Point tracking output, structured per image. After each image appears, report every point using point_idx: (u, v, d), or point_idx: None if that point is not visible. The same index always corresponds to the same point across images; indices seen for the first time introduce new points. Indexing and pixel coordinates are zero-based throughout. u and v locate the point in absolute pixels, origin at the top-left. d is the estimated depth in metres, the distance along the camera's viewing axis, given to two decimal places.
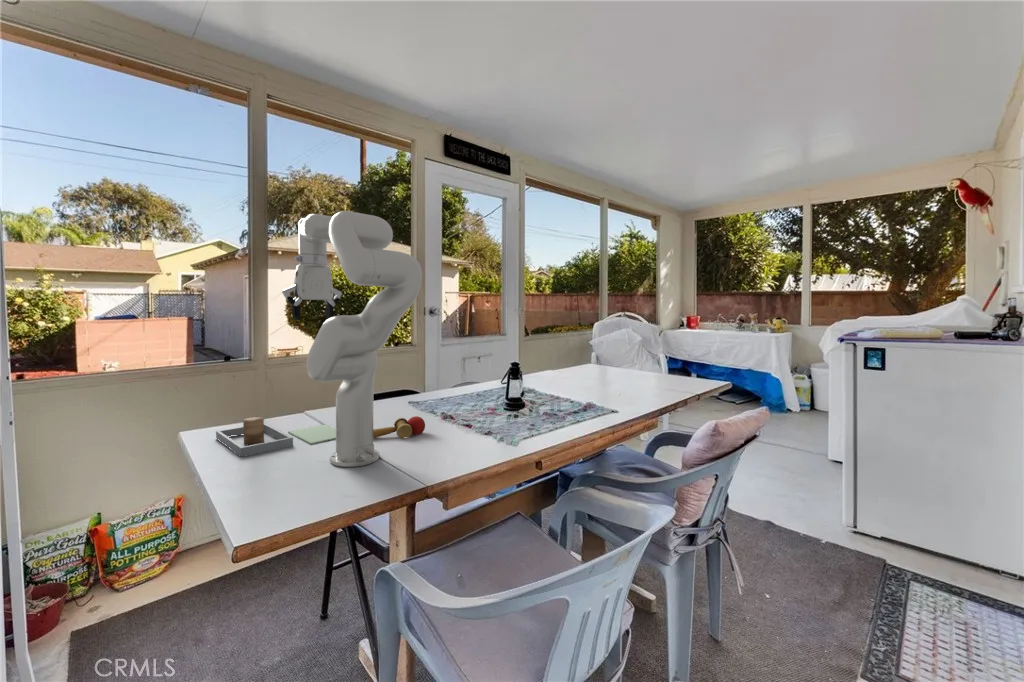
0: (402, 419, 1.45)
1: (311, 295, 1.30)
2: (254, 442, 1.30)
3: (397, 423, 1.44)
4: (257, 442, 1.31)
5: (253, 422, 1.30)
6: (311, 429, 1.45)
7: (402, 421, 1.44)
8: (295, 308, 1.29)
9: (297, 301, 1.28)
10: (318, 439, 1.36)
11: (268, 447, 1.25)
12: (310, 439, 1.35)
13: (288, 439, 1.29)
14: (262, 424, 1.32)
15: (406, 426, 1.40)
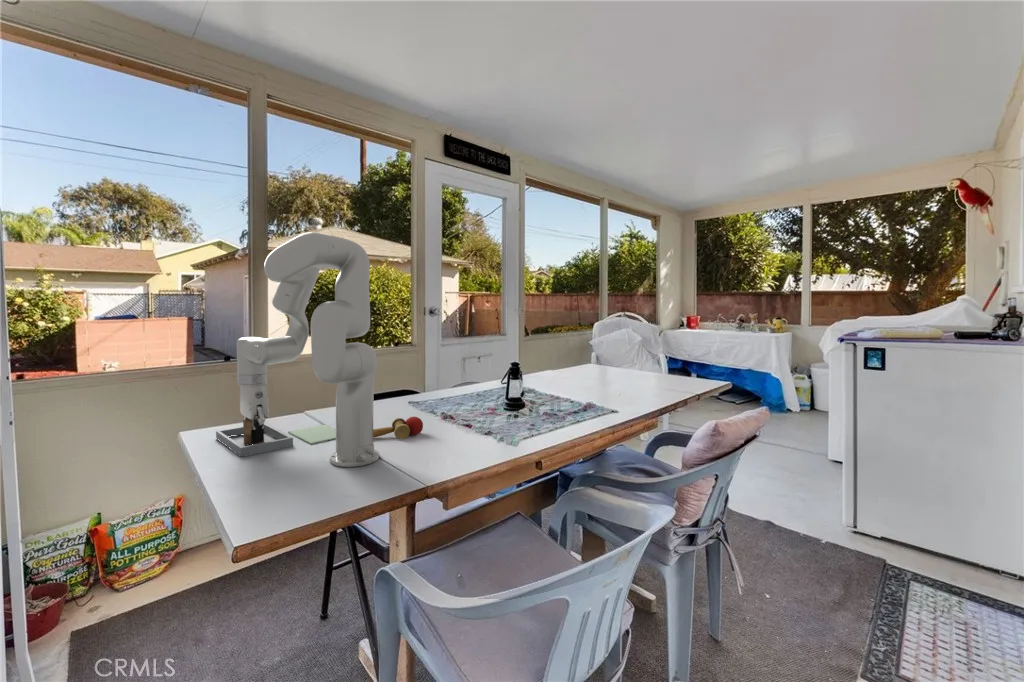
0: (400, 419, 1.44)
1: None
2: None
3: (395, 423, 1.44)
4: None
5: None
6: (311, 429, 1.45)
7: (400, 421, 1.44)
8: None
9: None
10: (318, 439, 1.36)
11: (268, 447, 1.25)
12: (310, 439, 1.35)
13: (288, 439, 1.29)
14: None
15: (404, 426, 1.40)
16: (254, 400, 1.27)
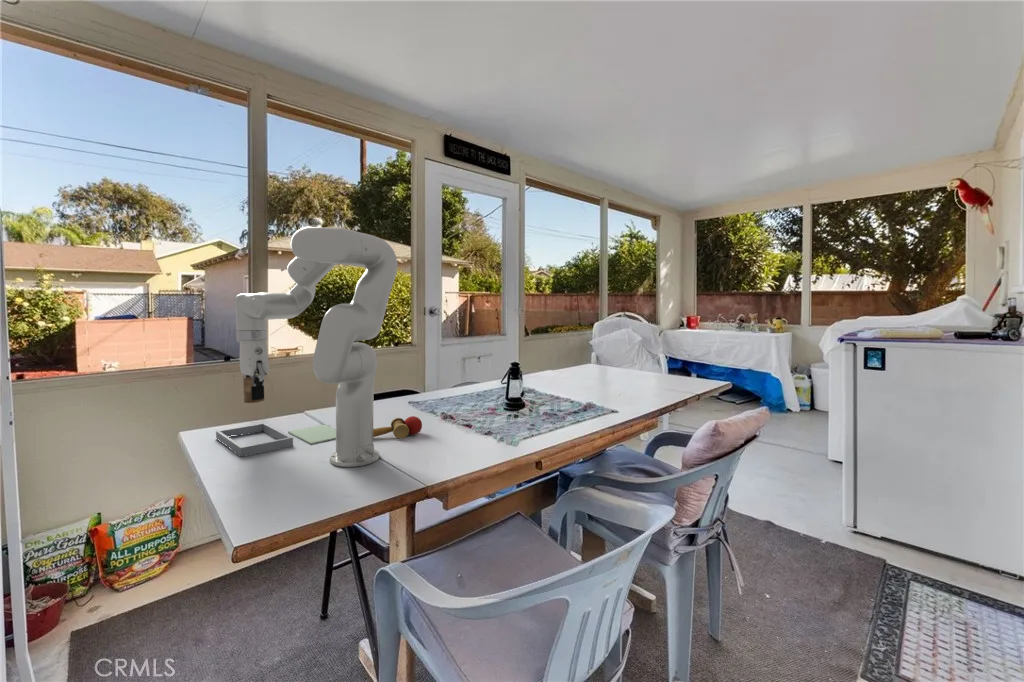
0: (399, 419, 1.44)
1: None
2: None
3: (394, 423, 1.43)
4: (257, 400, 1.29)
5: None
6: (311, 429, 1.45)
7: (399, 421, 1.44)
8: None
9: None
10: (318, 439, 1.36)
11: (268, 447, 1.25)
12: (310, 439, 1.35)
13: (288, 439, 1.29)
14: None
15: (403, 426, 1.40)
16: (254, 356, 1.26)
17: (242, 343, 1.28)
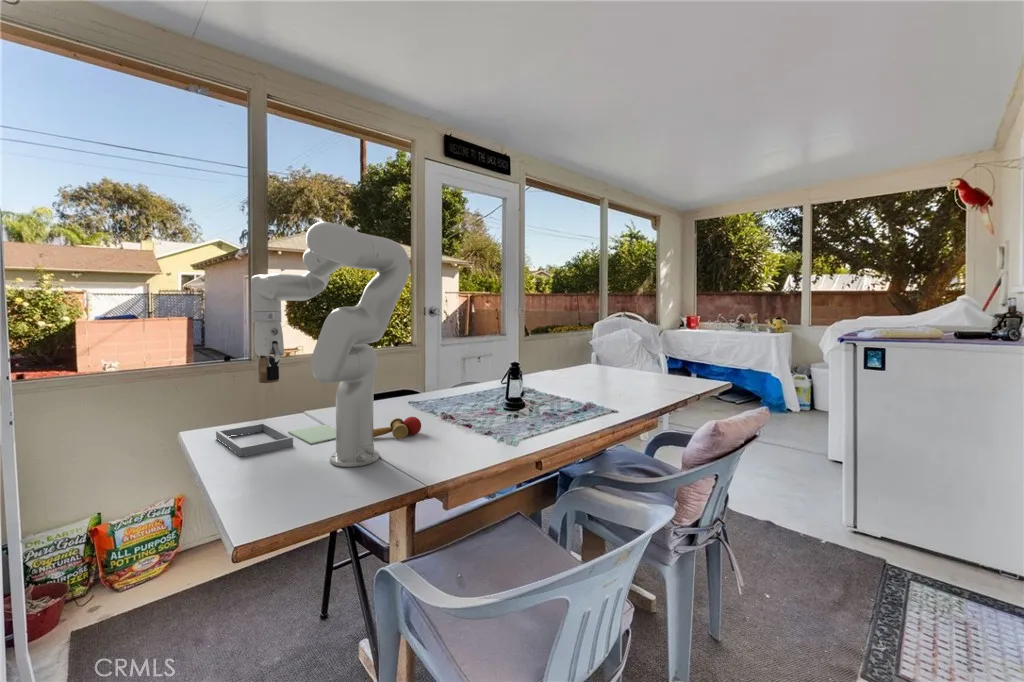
0: (398, 419, 1.44)
1: None
2: None
3: (393, 423, 1.43)
4: (272, 380, 1.31)
5: None
6: (311, 429, 1.45)
7: (398, 421, 1.44)
8: None
9: None
10: (318, 439, 1.36)
11: (268, 447, 1.25)
12: (310, 439, 1.35)
13: (288, 439, 1.29)
14: None
15: (402, 426, 1.40)
16: (270, 336, 1.28)
17: (258, 324, 1.30)
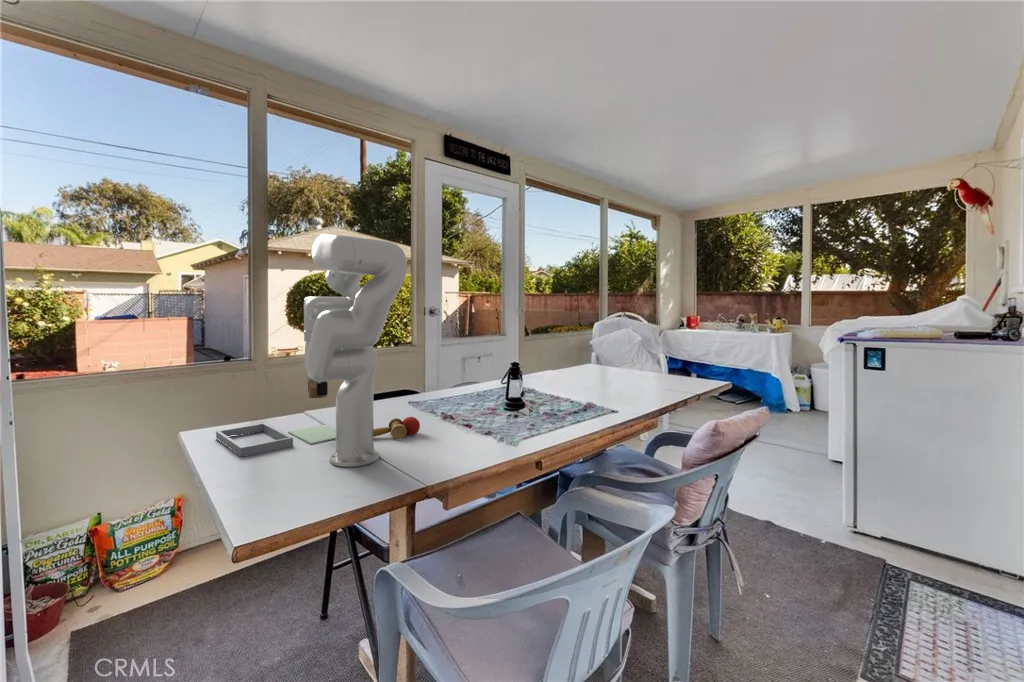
0: (397, 419, 1.44)
1: None
2: None
3: (392, 423, 1.43)
4: None
5: None
6: (311, 429, 1.45)
7: (397, 421, 1.44)
8: None
9: None
10: (318, 439, 1.36)
11: (268, 447, 1.25)
12: (310, 439, 1.35)
13: (288, 439, 1.29)
14: None
15: (400, 426, 1.40)
16: None
17: (309, 343, 1.37)
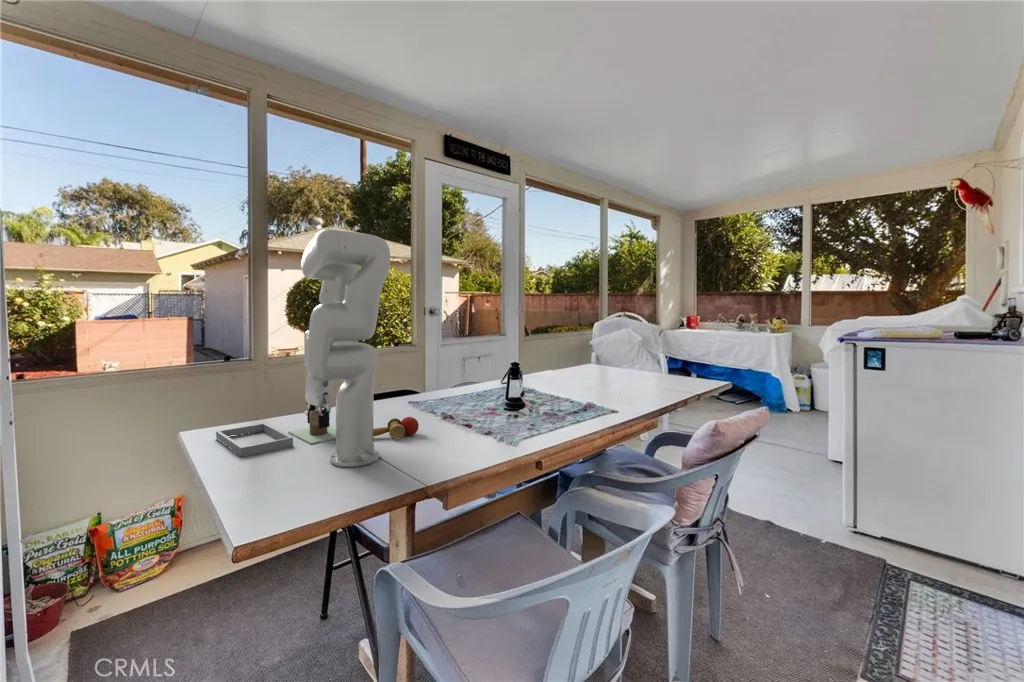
0: (395, 419, 1.44)
1: None
2: (320, 432, 1.39)
3: (390, 423, 1.43)
4: (322, 432, 1.40)
5: (319, 414, 1.39)
6: None
7: (395, 421, 1.43)
8: None
9: None
10: (318, 439, 1.36)
11: (268, 447, 1.25)
12: (310, 439, 1.35)
13: (288, 439, 1.29)
14: None
15: (399, 427, 1.39)
16: (321, 388, 1.36)
17: None
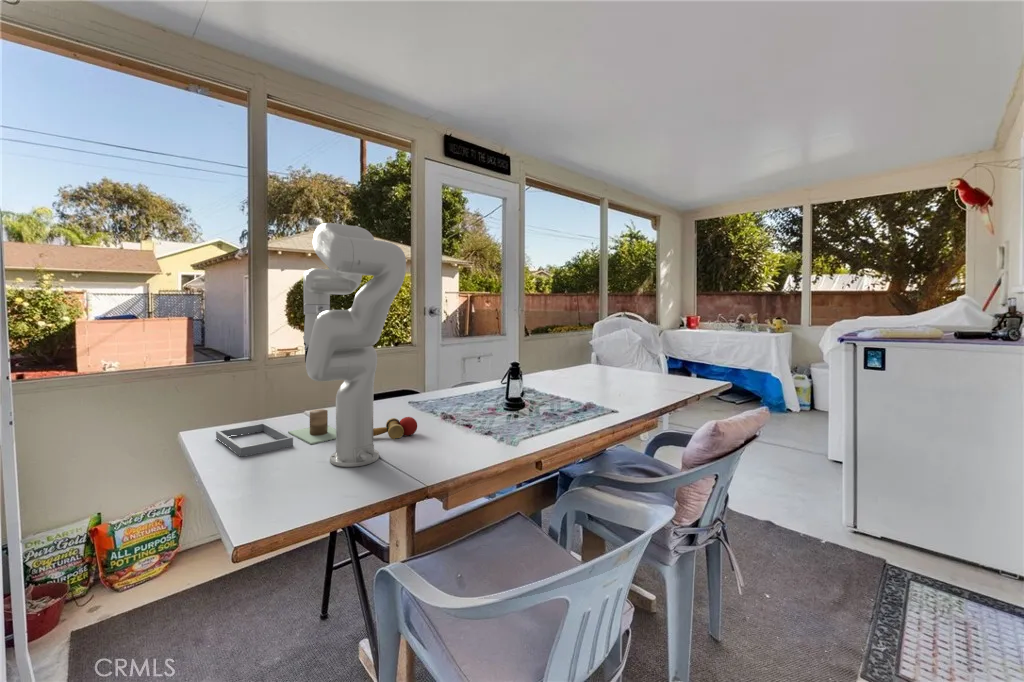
0: (394, 419, 1.44)
1: None
2: (320, 432, 1.39)
3: (389, 423, 1.43)
4: (322, 432, 1.40)
5: (319, 414, 1.39)
6: None
7: (394, 421, 1.43)
8: None
9: None
10: (318, 439, 1.36)
11: (268, 447, 1.25)
12: (310, 439, 1.35)
13: (288, 439, 1.29)
14: (326, 416, 1.41)
15: (397, 426, 1.39)
16: None
17: (308, 316, 1.39)
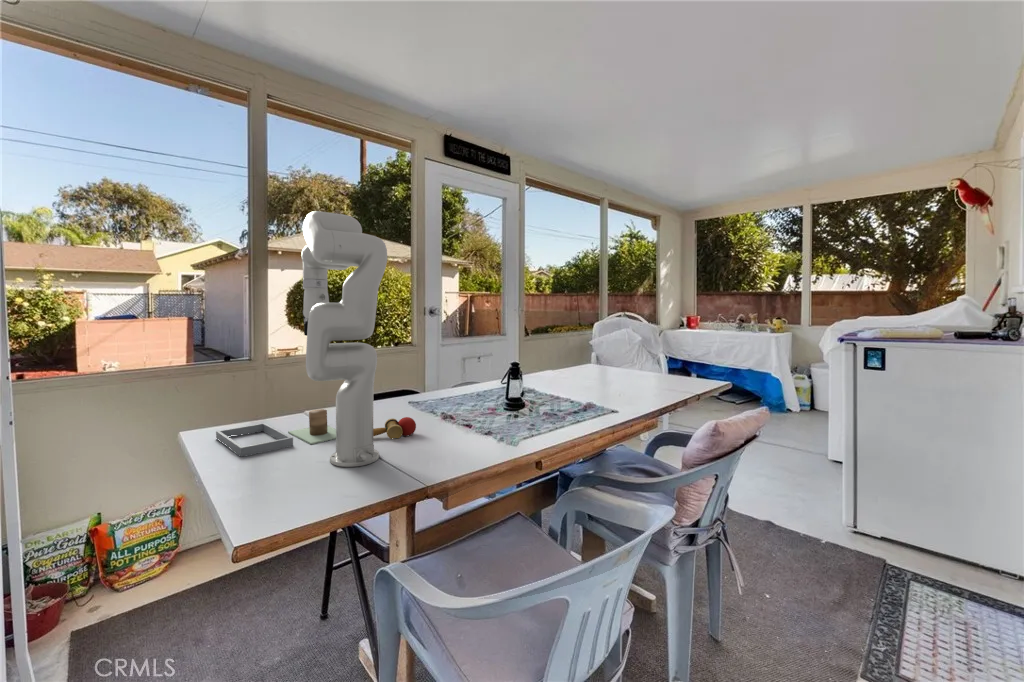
0: (393, 420, 1.44)
1: None
2: (319, 432, 1.39)
3: (388, 424, 1.43)
4: (322, 432, 1.40)
5: (318, 414, 1.39)
6: None
7: (393, 422, 1.43)
8: None
9: None
10: (318, 439, 1.36)
11: (268, 447, 1.25)
12: (310, 439, 1.35)
13: (288, 439, 1.29)
14: (326, 415, 1.41)
15: (396, 427, 1.39)
16: (318, 301, 1.46)
17: (307, 290, 1.48)
